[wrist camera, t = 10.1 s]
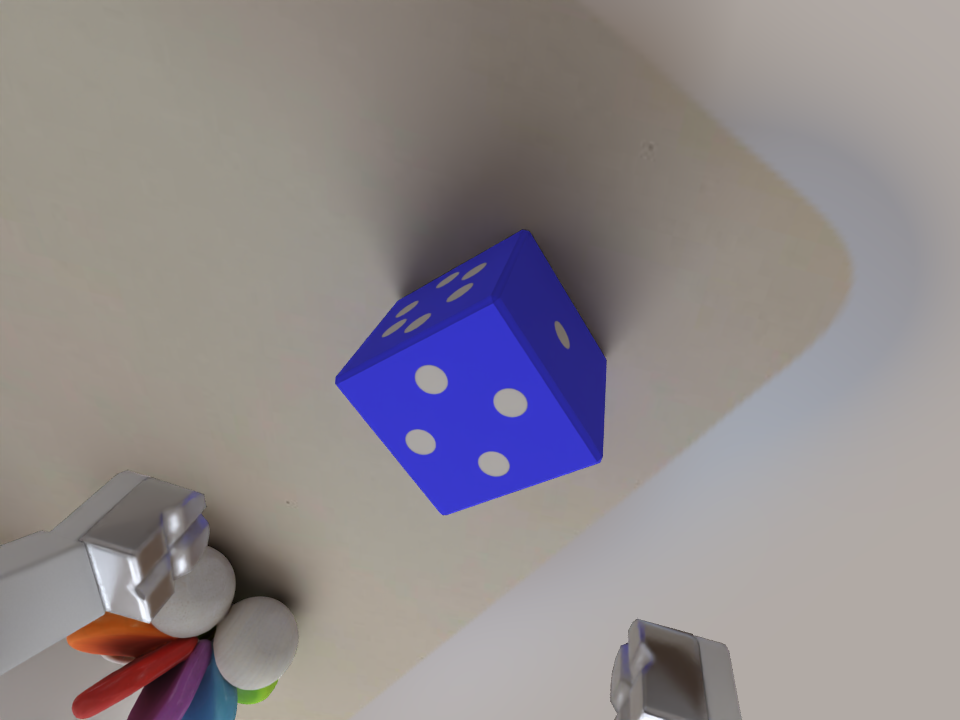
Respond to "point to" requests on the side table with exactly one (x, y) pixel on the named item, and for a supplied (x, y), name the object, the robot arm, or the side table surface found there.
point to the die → (483, 379)
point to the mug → (57, 685)
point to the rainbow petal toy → (191, 650)
